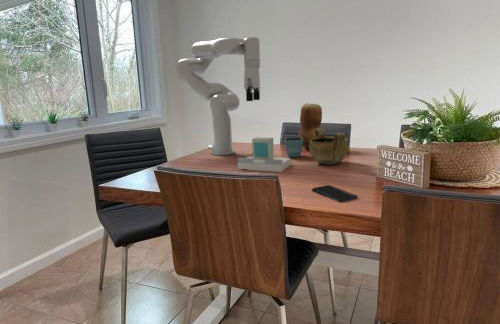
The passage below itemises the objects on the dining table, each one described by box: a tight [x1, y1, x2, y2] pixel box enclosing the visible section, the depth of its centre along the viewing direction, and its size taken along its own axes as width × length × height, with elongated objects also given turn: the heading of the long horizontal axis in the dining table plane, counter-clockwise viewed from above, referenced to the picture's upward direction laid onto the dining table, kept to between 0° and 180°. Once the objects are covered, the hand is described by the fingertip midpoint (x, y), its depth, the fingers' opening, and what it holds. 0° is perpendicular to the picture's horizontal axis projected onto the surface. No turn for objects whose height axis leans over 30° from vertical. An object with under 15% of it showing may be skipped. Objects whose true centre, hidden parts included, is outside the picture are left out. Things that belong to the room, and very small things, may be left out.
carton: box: [251, 137, 275, 159], centre depth 158 cm, size 5×8×10 cm, turn 69°
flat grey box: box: [237, 155, 291, 173], centre depth 160 cm, size 20×14×5 cm
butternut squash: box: [297, 102, 323, 151], centre depth 196 cm, size 14×13×25 cm
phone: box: [311, 185, 358, 203], centre depth 119 cm, size 8×1×15 cm
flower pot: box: [284, 137, 303, 158], centre depth 180 cm, size 9×9×9 cm
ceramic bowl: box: [308, 128, 349, 166], centre depth 162 cm, size 22×17×15 cm
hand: (253, 100), depth 177 cm, fingers open, 9 cm apart
